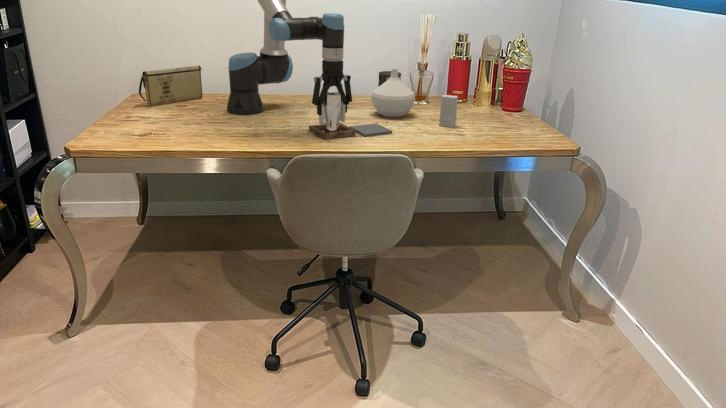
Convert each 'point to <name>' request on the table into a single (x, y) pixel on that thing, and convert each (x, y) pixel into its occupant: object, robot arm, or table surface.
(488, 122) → the table surface
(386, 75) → the coffee can
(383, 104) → the vase
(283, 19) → the robot arm
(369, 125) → the slate pad
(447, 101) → the skincare box
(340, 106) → the beer glass
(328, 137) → the frame
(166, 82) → the clutch purse
